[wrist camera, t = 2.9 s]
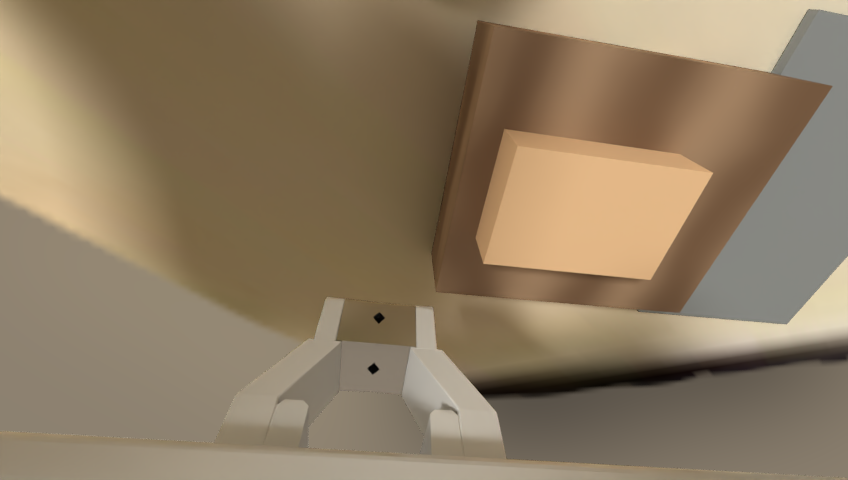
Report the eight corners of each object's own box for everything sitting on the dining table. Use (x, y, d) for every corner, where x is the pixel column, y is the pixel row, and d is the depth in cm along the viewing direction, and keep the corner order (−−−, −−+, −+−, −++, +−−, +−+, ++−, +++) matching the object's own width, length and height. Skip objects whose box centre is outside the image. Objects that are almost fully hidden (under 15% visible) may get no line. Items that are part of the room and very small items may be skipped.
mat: (634, 306, 30) (638, 311, 29) (808, 9, 19) (819, 9, 19) (780, 319, 31) (786, 324, 31) (1013, 51, 21) (1028, 52, 21)
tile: (475, 237, 21) (483, 263, 19) (504, 129, 18) (517, 146, 16) (627, 254, 22) (650, 280, 20) (680, 154, 19) (713, 173, 17)
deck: (431, 253, 26) (436, 291, 23) (477, 20, 19) (494, 26, 16) (646, 275, 28) (679, 313, 25) (763, 71, 21) (832, 85, 18)
